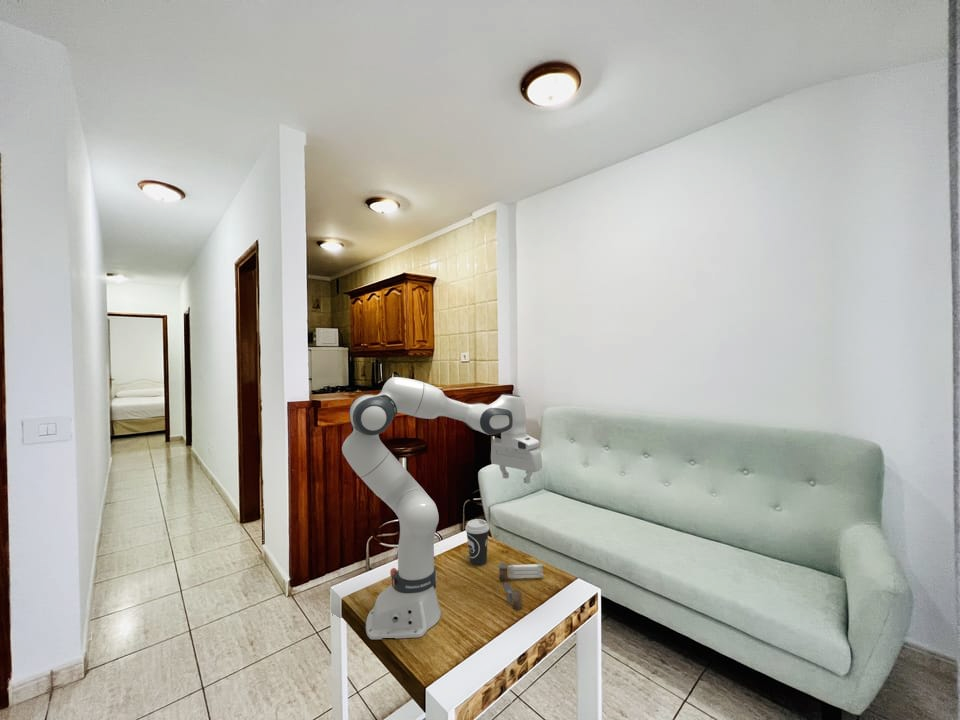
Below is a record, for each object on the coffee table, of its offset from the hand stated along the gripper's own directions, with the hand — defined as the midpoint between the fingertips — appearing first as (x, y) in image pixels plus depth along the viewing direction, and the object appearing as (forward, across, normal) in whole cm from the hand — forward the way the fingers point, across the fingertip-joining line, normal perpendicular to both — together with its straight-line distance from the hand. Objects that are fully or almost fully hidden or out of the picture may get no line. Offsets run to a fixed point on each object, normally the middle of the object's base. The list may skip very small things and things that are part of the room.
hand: (516, 480), depth 131 cm
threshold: (+37, -1, -5) cm, 37 cm away
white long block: (+36, -2, +5) cm, 36 cm away
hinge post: (+37, -8, -1) cm, 38 cm away
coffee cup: (+37, -23, +2) cm, 44 cm away
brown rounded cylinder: (+37, +5, -9) cm, 38 cm away
